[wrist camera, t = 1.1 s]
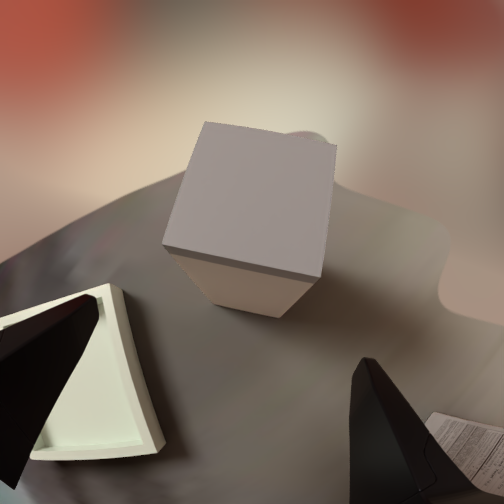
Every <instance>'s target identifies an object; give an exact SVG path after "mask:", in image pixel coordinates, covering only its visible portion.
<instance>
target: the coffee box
mask: <svg viewBox="0 0 504 504" xmlns="http://www.w3.org/2000/svg"><path fill="white" fill-rule="evenodd" d="M425 426H426V427H427V429H428V430H429V431H430V432H429V433H431V434H432V435H433V437H434V438H435V439H436V441H437V442H438V443H439V445H440V446H441V447H442V449H443V450H444V451H445V452H446V454H447V455H448V456H449V457H450V458H451V460H452V461H453V462H454V463H455V464H456V465H457V466H458V468H459V469H460V470H461V471H462V472H463V473H464V474H465V475H466V477H467V478H468V479H469V480H470V481H471V482H472V483H473V484H474V485H475V486H476V487H477V488H479V489H480V490H482V491H485V492H488V493H492V494H496V495H500V496H504V428H502V427H497V426H493V425H488V424H483V423H479V422H474V421H470V420H465V419H461V418H457V417H454V416H449V415H445V414H442V413H438V412H433V413H432V414H431V416H430V417H429V418H428V420H427V421H426V422H425Z"/></svg>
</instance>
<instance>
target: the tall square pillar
mask: <svg viewBox="0 0 504 504" xmlns="http://www.w3.org/2000/svg"><path fill="white" fill-rule="evenodd" d="M336 150H337V145H334V144H330V143H326V142H321V141H317V140H312V139H308V138H303V137H298V136H293V135H288V134H283V133H277V132H272V131H266V130H261V129H254V128H248V127H242V126H235V125H227V124H221V123H213V122H204V125H203V127H202V130H201V132H200V135H199V138H198V140H197V143H196V145H195V148H194V151H193V154H192V156H191V159H190V161H189V164H188V167H187V170H186V172H185V175H184V178H183V181H182V184H181V186H180V189H179V192H178V195H177V198H176V201H175V204H174V207H173V210H172V213H171V216H170V219H169V222H168V225H167V229H166V232H165V235H164V238H163V242H162V245H163V246H164V247H165V249H166V250H167V251H168V252H169V254H170V255H171V256H172V257H173V258H174V259H175V261H176V262H177V263H178V264H179V265H180V267H181V268H182V269H183V270H184V271H185V272H186V274H187V275H188V276H189V277H190V278H191V279H192V281H193V282H194V283H195V284H196V285H197V286H198V287H199V289H200V290H201V291H202V292H203V293H204V294H205V295H206V297H207V298H208V299H209V300H210V301H211V302H212V303H213V304H215V305H220V306H224V307H229V308H233V309H238V310H242V311H247V312H252V313H256V314H261V315H266V316H271V317H276V318H280V317H281V316H282V315H283V314H284V313H285V312H286V311H287V310H288V309H289V308H290V307H291V306H292V305H293V304H294V303H295V302H297V301H298V300H299V299H300V298H301V297H302V296H303V295H304V294H305V293H306V292H307V291H308V290H309V289H310V288H311V287H312V286H313V285H314V284H315V283H316V282H317V281H318V280H319V279H320V278H321V272H322V266H323V259H324V252H325V245H326V238H327V231H328V223H329V216H330V207H331V199H332V190H333V181H334V171H335V161H336Z"/></svg>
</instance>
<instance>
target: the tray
mask: <svg viewBox="0 0 504 504" xmlns="http://www.w3.org/2000/svg"><path fill="white" fill-rule="evenodd" d="M83 294H89V295H92V296H94V297H96V299H97V304H98V310H99V321H98V323H97V325H96V327H95V329H94V331H93V334H92V336H91V338H90V340H89V342H88V344H87V347H86V349H85V351H84V353H83V355H82V357H81V359H80V360H79V362H78V364H77V366H76V367H75V369H74V371H73V373H72V374H71V376H70V378H69V380H68V381H67V383H66V385H65V387H64V389H63V391H62V392H61V394H60V396H59V398H58V400H57V402H56V403H55V405H54V407H53V409H52V411H51V413H50V415H49V417H48V419H47V421H46V423H45V425H44V427H43V429H42V431H41V433H40V435H39V437H38V439H37V441H36V443H35V445H34V448H33V450H32V452H31V454H30V458H31V459H33V460H88V459H106V458H118V457H128V456H137V455H145V454H153V453H158V452H159V451H160V449H161V448H162V447H163V446H164V445H165V444H166V441H165V438H164V435H163V433H162V430H161V427H160V425H159V422H158V419H157V416H156V413H155V410H154V407H153V404H152V401H151V398H150V395H149V392H148V389H147V386H146V382H145V379H144V376H143V372H142V369H141V365H140V362H139V358H138V355H137V351H136V347H135V343H134V339H133V335H132V331H131V327H130V323H129V319H128V315H127V310H126V306H125V301H124V296H123V291H122V289H120V288H118V287H116V286H114V285H112V284H110V283H108V284H105V285H102V286H98V287H95V288H92V289H89V290H86V291H83V292H79V293H76V294H73V295H70V296H67V297H64V298H60V299H57V300H54V301H51V302H48V303H45V304H42V305H39V306H36V307H32V308H29V309H26V310H23V311H20V312H17V313H14V314H11V315H8V316H5V317H2V318H0V330H2V329H5V328H7V327H9V326H11V325H13V324H16V323H18V322H20V321H22V320H25V319H27V318H29V317H32V316H34V315H36V314H38V313H41V312H43V311H45V310H48V309H50V308H52V307H55V306H57V305H59V304H62V303H64V302H66V301H69V300H71V299H73V298H76V297H78V296H80V295H83Z"/></svg>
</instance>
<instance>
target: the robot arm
mask: <svg viewBox="0 0 504 504" xmlns="http://www.w3.org/2000/svg"><path fill="white" fill-rule="evenodd" d="M98 321H99V310H98V304H97V299H96V297H94V296H92V295H89V294H83V295H80V296H78V297H76V298H73V299H71V300H69V301H66V302H64V303H62V304H59V305H57V306H55V307H52V308H50V309H48V310H45V311H43V312H41V313H38V314H36V315H34V316H32V317H29V318H27V319H25V320H22V321H20V322H18V323H16V324H13V325H11V326H9V327H7V328H5V329H2V330H0V480H1V481H2V482H4V483H5V484H6V485H8V486H9V487H11V488H12V489H13V490H15V488H16V486H17V484H18V481H19V479H20V476H21V474H22V472H23V470H24V467H25V465H26V463H27V461H28V458H29V456H30V454H31V452H32V450H33V448H34V445H35V443H36V441H37V439H38V437H39V435H40V433H41V431H42V429H43V427H44V425H45V423H46V421H47V419H48V417H49V415H50V413H51V411H52V409H53V407H54V405H55V403H56V402H57V400H58V398H59V396H60V394H61V392H62V391H63V389H64V387H65V385H66V383H67V381H68V380H69V378H70V376H71V374H72V373H73V371H74V369H75V367H76V366H77V364H78V362H79V360H80V359H81V357H82V355H83V353H84V351H85V349H86V347H87V344H88V342H89V340H90V338H91V336H92V334H93V331H94V329H95V327H96V325H97V323H98ZM429 432H430V431H429V430H428V429H427V427H426V426H425V424H424V423H423V422H422V420H421V419H420V418H419V416H418V415H417V414H416V412H415V411H414V410H413V408H412V407H411V406H410V404H409V403H408V402H407V400H406V399H405V398H404V396H403V395H402V394H401V392H400V391H399V390H398V388H397V387H396V386H395V384H394V383H393V382H392V380H391V379H390V378H389V376H388V375H387V374H386V372H385V371H384V370H383V369H382V367H381V366H380V365H379V363H378V362H377V361H376V360H375V359H374V358H367V357H364V358H362V359H361V361H360V362H359V364H358V366H357V368H356V370H355V371H354V373H353V376H352V385H351V400H350V413H349V436H350V502H349V504H504V496H500V495H496V494H492V493H488V492H485V491H482V490H480V489H479V488H477V487H476V486H475V485H474V484H473V483H472V482H471V481H470V480H469V479H468V478H467V477H466V475H465V474H464V473H463V472H462V471H461V470H460V469H459V468H458V466H457V465H456V464H455V463H454V462H453V461H452V460H451V458H450V457H449V456H448V455H447V454H446V452H445V451H444V450H443V449H442V447H441V446H440V445H439V443H438V442H437V441H436V439H435V438H434V437H433V435H432V434H431V433H429Z"/></svg>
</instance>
